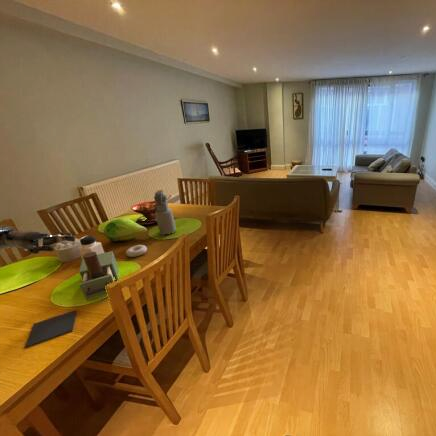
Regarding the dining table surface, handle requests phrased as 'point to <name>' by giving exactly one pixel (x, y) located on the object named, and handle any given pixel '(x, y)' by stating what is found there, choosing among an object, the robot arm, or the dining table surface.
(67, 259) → the lumpy-topped squat cylinder
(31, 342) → the mat
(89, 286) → the drawer
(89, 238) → the medicine bottle
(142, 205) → the red decorative bowl
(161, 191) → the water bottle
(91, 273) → the pepper mill
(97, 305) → the dining table surface
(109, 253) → the cabinet
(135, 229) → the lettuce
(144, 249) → the donut
